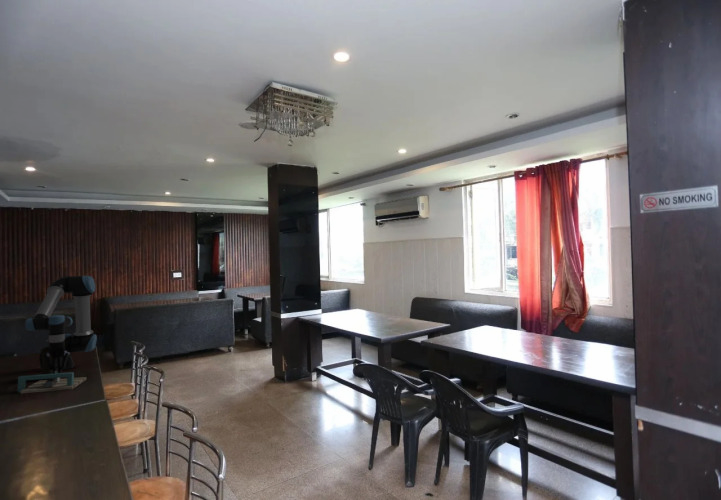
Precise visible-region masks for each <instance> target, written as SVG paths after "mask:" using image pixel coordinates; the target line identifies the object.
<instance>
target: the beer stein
mask: <svg viewBox="0 0 721 500" xmlns="http://www.w3.org/2000/svg"><path fill="white" fill-rule="evenodd" d="M48 351H49V346H47V347H46V346H45V347H43V348H42V349H40V353H39V356H38V357H39V359H38V360H39V365H40V370H39V371H40V373H41V374H40V375H42V374H53V371H51V370H49V367H48V364H47V361H46V358H45V357H44V355H45V354H47V353H48ZM50 358H51V361H52V356H51V355H50ZM52 364H53V363H52ZM61 373H63V370H61ZM43 380H48V379H40V381H43Z"/></svg>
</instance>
